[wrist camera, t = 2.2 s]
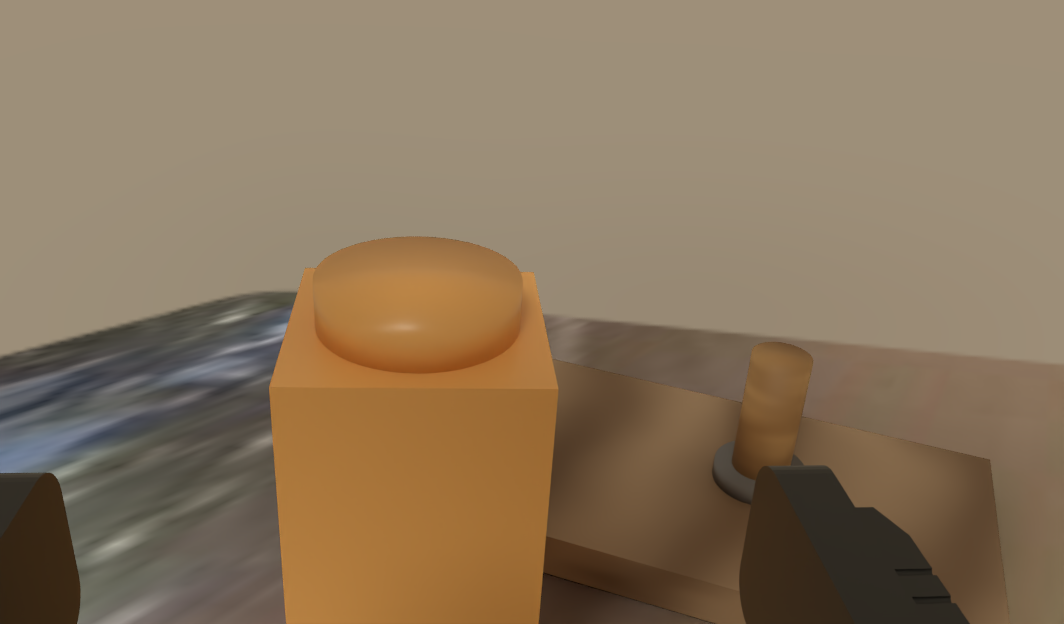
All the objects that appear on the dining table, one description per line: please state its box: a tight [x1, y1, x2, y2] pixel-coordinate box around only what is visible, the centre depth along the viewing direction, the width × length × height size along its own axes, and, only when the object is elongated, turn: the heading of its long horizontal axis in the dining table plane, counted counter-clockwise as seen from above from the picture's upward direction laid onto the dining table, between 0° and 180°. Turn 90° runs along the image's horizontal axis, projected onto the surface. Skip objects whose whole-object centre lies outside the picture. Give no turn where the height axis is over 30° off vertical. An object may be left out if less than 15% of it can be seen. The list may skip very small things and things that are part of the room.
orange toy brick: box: [269, 237, 559, 624], centre depth 25 cm, size 6×6×12 cm
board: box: [543, 342, 1010, 624], centre depth 33 cm, size 18×11×6 cm, turn 70°
